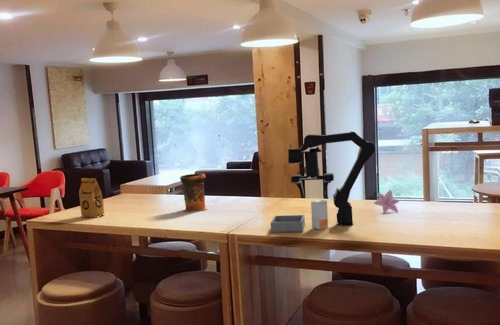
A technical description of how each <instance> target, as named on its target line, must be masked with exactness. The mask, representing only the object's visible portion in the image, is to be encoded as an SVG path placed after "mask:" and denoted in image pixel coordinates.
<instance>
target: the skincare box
mask: <svg viewBox="0 0 500 325" xmlns="http://www.w3.org/2000/svg"><path fill="white" fill-rule="evenodd" d="M310 203H311V204H310V206H311V207H310V208H311V212H310V213H311V228H312V229H315V228H316V229H317V230H321V229H324V228H328V227H329V223H328V222H329V219H328V200H327V199H326V200H325V199H315V200H313V201H311V202H310Z"/></svg>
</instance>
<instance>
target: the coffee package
mask: <svg viewBox="0 0 500 325" xmlns="http://www.w3.org/2000/svg"><path fill="white" fill-rule="evenodd" d="M80 181H81V184H80V186H79V191H78V196H79V197H78V198H79V204H80V205H79V206H80V207H79V208H80V212H81V213H80V215H81V217H86V216H88V217H87V218H94V217H96V216H100V215H103V214H104V215H105V207H104V198H103V194H102V190H101V188H100V184H99V183H98V181H97V179H96V178H94V177H93V178H90V177H89V178H88V177H87V178H86V177H83V178H82V177H81V180H80ZM100 217H101V216H100Z"/></svg>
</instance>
